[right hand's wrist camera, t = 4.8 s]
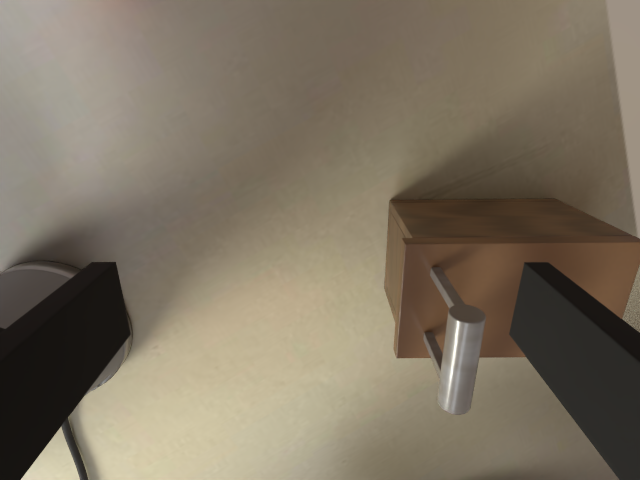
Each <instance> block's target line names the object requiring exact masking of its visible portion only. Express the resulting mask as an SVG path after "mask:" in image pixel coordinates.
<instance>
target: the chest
mask: <svg viewBox="0 0 640 480" xmlns="http://www.w3.org/2000/svg"><path fill="white" fill-rule="evenodd" d="M580 236H632V235H630V234H628V233H626V232H624V231H622V230H620V229H618V228H616V227H614V226H611V225H609V224H607V223H605V222H603V221H601V220H599V219H597V218H595V217H593V216H590V215H588V214H586V213H584V212H582V211H580V210H578V209H576V208H574V207H572V206H570V205H567V204H565V203H563V202H561V201H559V200H557V199H459V200H390V202H389V219H388V236H387V253H386V270H385V287H384V289H385V292H386V295H387V298H388V301H389V304H390V307H391V310H392V313H393V317H394V320H395V323H396V310H397V296H398V283H399V269H400V256H401V242H402V238H466V237H580Z"/></svg>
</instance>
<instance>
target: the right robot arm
mask: <svg viewBox="0 0 640 480" xmlns="http://www.w3.org/2000/svg"><path fill="white" fill-rule="evenodd" d="M509 335H510V336H511V338H512V339H513V340H514V342H515V343H516V344H517V346H518V347H519V348H520V349H521V351H522V352H523V353H524V355H525V356H526V357H527V359H528V360H529V361H530V363H531V364H532V365H533V367H534V368H535V369H536V370H537V372H538V373H539V374H540V376H541V377H542V378H543V380H544V381H545V382H546V384H547V385H548V386H549V388H550V389H551V390H552V392H553V393H554V394H555V395H556V397H557V398H558V399H559V401H560V402H561V403H562V405H563V406H564V407H565V409H566V410H567V411H568V413H569V414H570V415H571V417H572V418H573V419H574V420H575V422H576V423H577V424H578V426H579V427H580V428H581V430H582V431H583V432H584V434H585V435H586V436H587V438H588V439H589V440H590V442H591V443H592V444H593V445H594V447H595V448H596V449H597V451H598V452H599V453H600V455H601V456H602V457H603V459H604V460H605V461H606V463H607V464H608V465H609V467H610V468H611V469H612V470H613V472H614V473H615V474H616V476H617V477H618V478H619V480H640V333H639V332H638V331H637V330H635V329H634V328H633V327H631V326H630V325H629V324H628V323H626V322H625V321H624V320H622V319H621V318H620V317H618V316H617V315H616V314H615V313H613V312H612V311H611V310H609V309H608V308H607V307H606V306H604V305H603V304H602V303H600V302H599V301H598V300H596V299H595V298H594V297H593V296H591V295H590V294H589V293H587V292H586V291H585V290H584V289H582V288H581V287H580V286H578V285H577V284H576V283H574V282H573V281H572V280H571V279H569V278H568V277H567V276H565V275H564V274H563V273H562V272H560V271H559V270H558V269H556V268H555V267H554V266H552V265H551V264H550V263H549V262H524V266H523V271H522V276H521V280H520V285H519V290H518V294H517V299H516V304H515V309H514V313H513V318H512V323H511V327H510V332H509ZM131 343H132V329H131V324H130V320H129V317H128V315H127V313H126V309H125V304H124V299H123V294H122V290H121V285H120V280H119V276H118V271H117V266H116V262H91V263H90V264H89V265H88V266H86V267H85V268H84V269H82V270H80V269H77V268H75V267H72V266H69V265H65V264H61V263H56V262H48V261H34V262H27V263H22V264H19V265H16V266H13V267H11V268H9V269H7V270H6V271H4V272H2V273H1V274H0V480H21V478H22V477H23V476H24V474H25V473H26V472H27V470H28V469H29V468H30V467H31V465H32V464H33V463H34V461H35V460H36V459H37V457H38V456H39V455H40V453H41V452H42V451H43V449H44V448H45V447H46V445H47V444H48V443H49V442H50V440H51V439H52V438H53V436H54V435H55V434H56V432H57V431H58V430H59V428H60V427H61V426H62V430H63V433H64V436H65V439H66V442H67V444H68V447H69V449H70V452H71V454H72V457H73V459H74V462H75V465H76V468H77V470H78V474H79V477H80V480H88V477H87V473H86V470H85V467H84V464H83V461H82V458H81V455H80V453H79V450H78V448H77V445H76V442H75V440H74V437H73V434H72V431H71V428H70V424H69V420H68V417H69V415H70V414H71V413H72V411H73V410H74V409H75V407H76V406H77V405H78V403H79V402H80V401H81V399H82V398H83V397H84V396H85V395H86V394H87V393H89V392H90V391H92V390H94V389H96V388H97V387H99V386H101V385H102V384H104V383H106V382H107V381H108V380H109V379H111V378H112V377H113V376H114V374H115V373H116V372H117V371H118V369H119V368H120V366H121V365H122V363H123V362H124V361H125V359H126V357H127V356H128V353H129V351H130V348H131Z"/></svg>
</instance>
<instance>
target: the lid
mask: <svg viewBox="0 0 640 480" xmlns="http://www.w3.org/2000/svg"><path fill="white" fill-rule="evenodd" d="M524 262H549V263H550V264H551V265H552V266H554V267H555V268H556V269H558V270H559V271H560V272H562V273H563V274H564V275H565V276H567V277H568V278H569V279H571V280H572V281H573V282H574V283H576V284H577V285H578V286H580V287H581V288H582V289H584V290H585V291H586V292H587V293H589V294H590V295H591V296H593V297H594V298H595V299H596V300H598V301H599V302H600V303H602V304H603V305H604V306H606V307H607V308H608V309H609V310H611V311H612V312H613V313H615V314H616V315H617V316H618V317H620V318H621V319H622V317H623V314H624V311H625V308H626V305H627V302H628V299H629V296H630V292H631V289H632V286H633V283H634V280H635V277H636V274H637V271H638V268H639V265H640V239H639V238H637V237H635V236H580V237H466V238H402V242H401V256H400V269H399V283H398V296H397V310H396V324H395V337H394V351H395V355H396V358H431V359H432V362H433V364H434V367H435V369H436V372H437V374H438V376H439V387H438V394H437V401H438V404H439V405H440V407H441V408H442V409H443V410H445V411H447V412H449V413H451V414H456V415H461V414H465V413H467V412H468V411H469V410H470V408H471V402H472V396H473V390H474V384H475V379H476V373H477V367H478V361H479V357H526V356H525V355H524V353H523V352H522V351H521V349H520V348H519V347H518V346H517V344H516V343H515V342H514V340H513V339H512V338H511V336H510V335H509V332H510V327H511V323H512V318H513V313H514V309H515V304H516V299H517V294H518V290H519V285H520V280H521V276H522V271H523V266H524Z"/></svg>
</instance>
